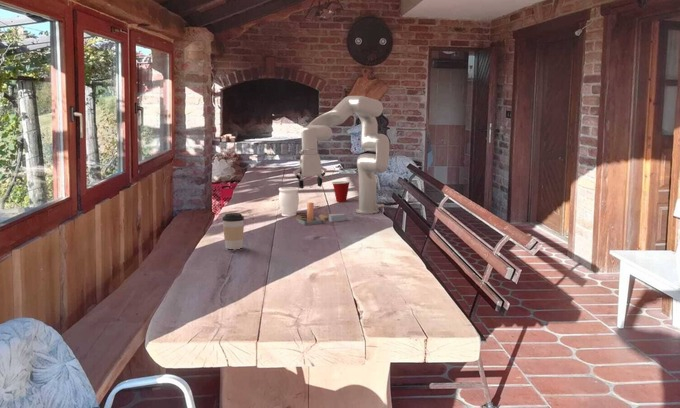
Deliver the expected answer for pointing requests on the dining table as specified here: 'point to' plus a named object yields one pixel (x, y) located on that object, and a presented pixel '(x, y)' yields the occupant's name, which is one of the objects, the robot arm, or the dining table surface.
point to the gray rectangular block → (337, 217)
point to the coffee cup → (233, 230)
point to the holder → (301, 216)
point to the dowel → (310, 212)
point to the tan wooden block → (324, 217)
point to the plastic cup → (341, 190)
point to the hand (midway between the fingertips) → (310, 187)
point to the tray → (316, 221)
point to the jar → (288, 200)
